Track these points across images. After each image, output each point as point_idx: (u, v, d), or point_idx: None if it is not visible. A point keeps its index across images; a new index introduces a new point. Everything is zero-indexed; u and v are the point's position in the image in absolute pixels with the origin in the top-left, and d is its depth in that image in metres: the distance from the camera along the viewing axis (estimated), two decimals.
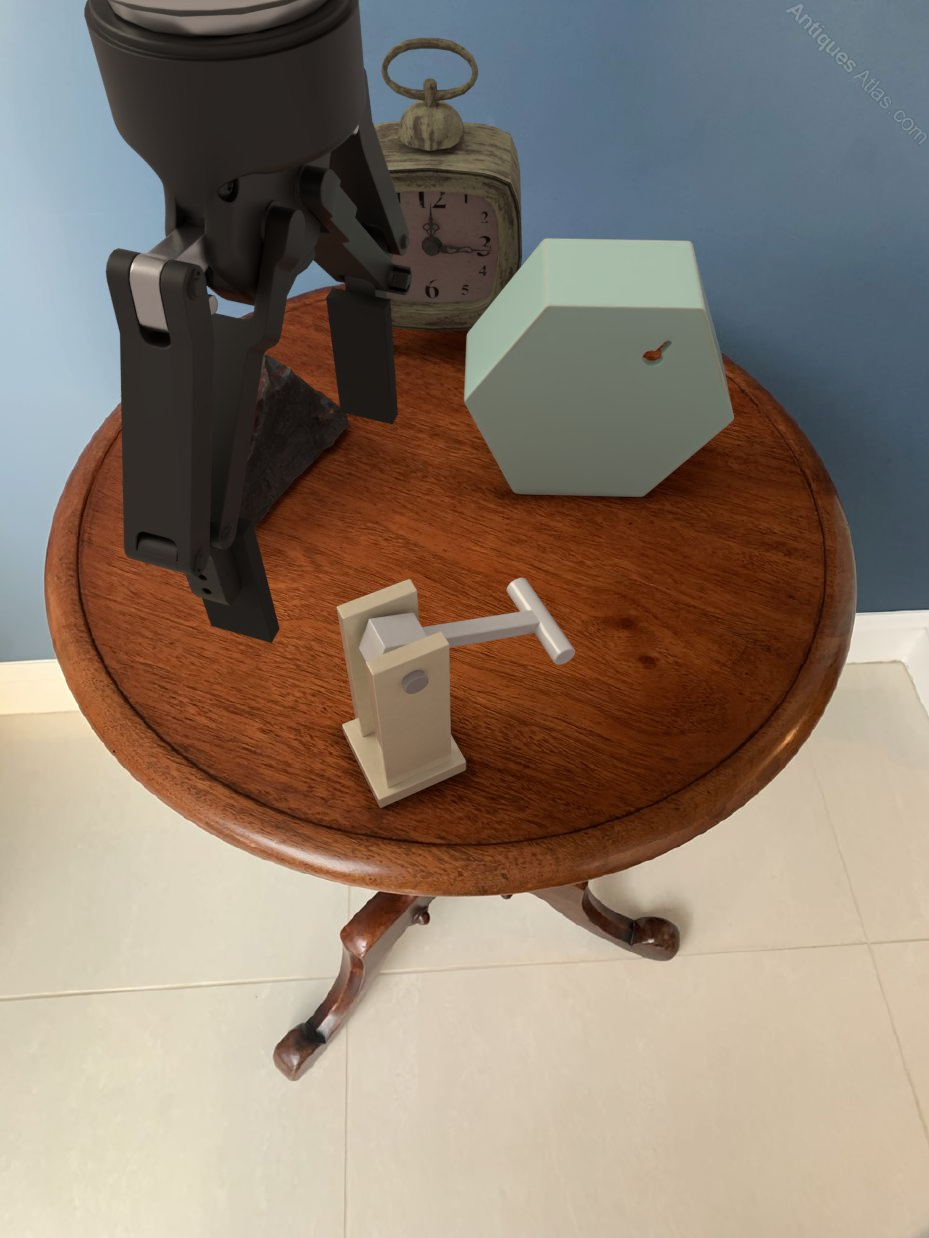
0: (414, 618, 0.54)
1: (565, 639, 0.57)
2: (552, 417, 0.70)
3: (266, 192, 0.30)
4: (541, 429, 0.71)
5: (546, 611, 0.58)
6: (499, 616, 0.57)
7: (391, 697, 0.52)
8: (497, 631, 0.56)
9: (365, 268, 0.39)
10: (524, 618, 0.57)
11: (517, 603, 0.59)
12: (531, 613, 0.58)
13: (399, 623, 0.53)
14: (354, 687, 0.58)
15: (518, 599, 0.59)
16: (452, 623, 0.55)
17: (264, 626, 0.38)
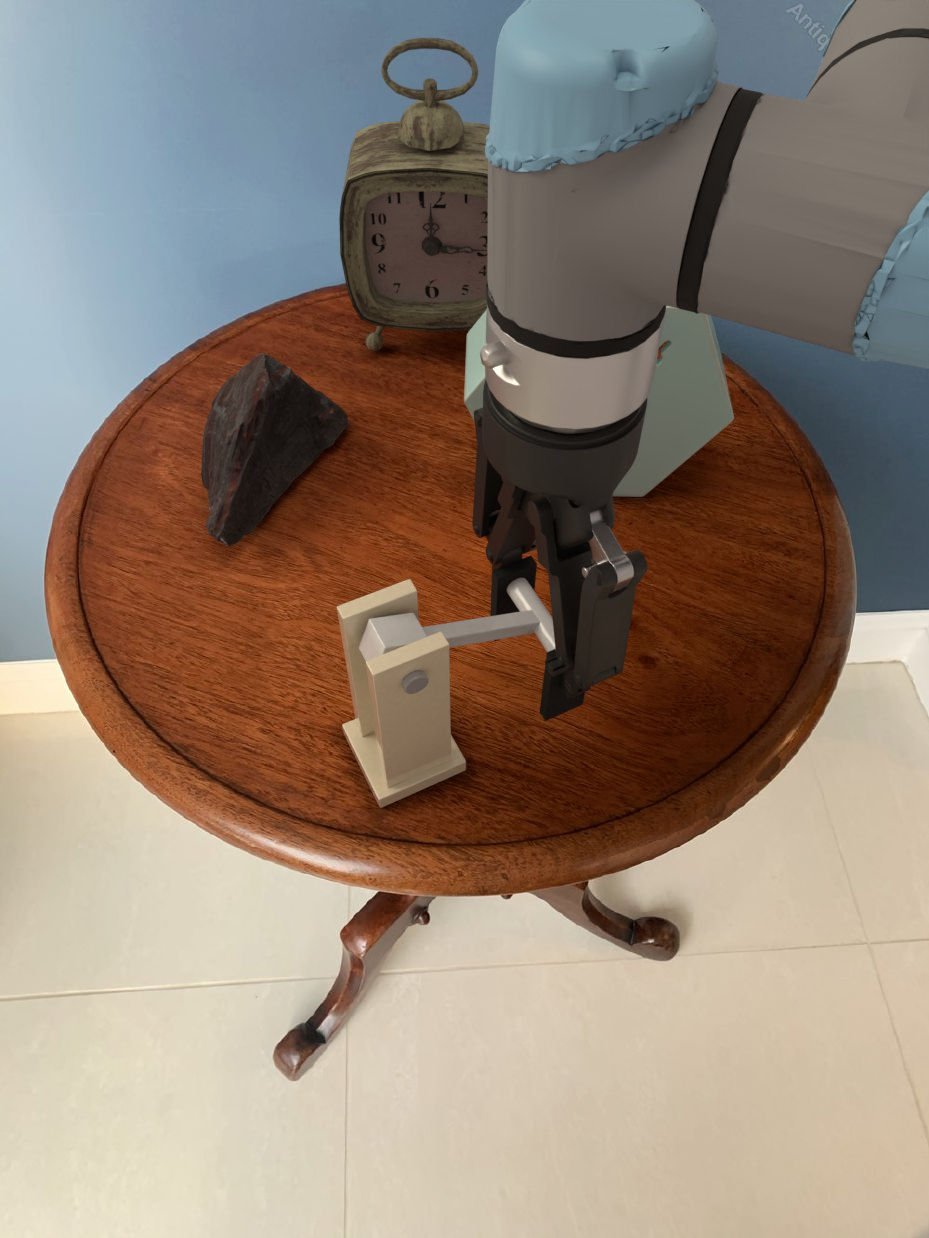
0: (414, 618, 0.54)
1: None
2: None
3: None
4: None
5: (546, 611, 0.58)
6: (499, 616, 0.57)
7: (391, 697, 0.52)
8: (497, 631, 0.56)
9: None
10: (524, 618, 0.57)
11: (517, 603, 0.59)
12: (531, 613, 0.58)
13: (399, 623, 0.53)
14: (354, 687, 0.58)
15: (518, 599, 0.59)
16: (452, 623, 0.55)
17: (583, 696, 0.60)
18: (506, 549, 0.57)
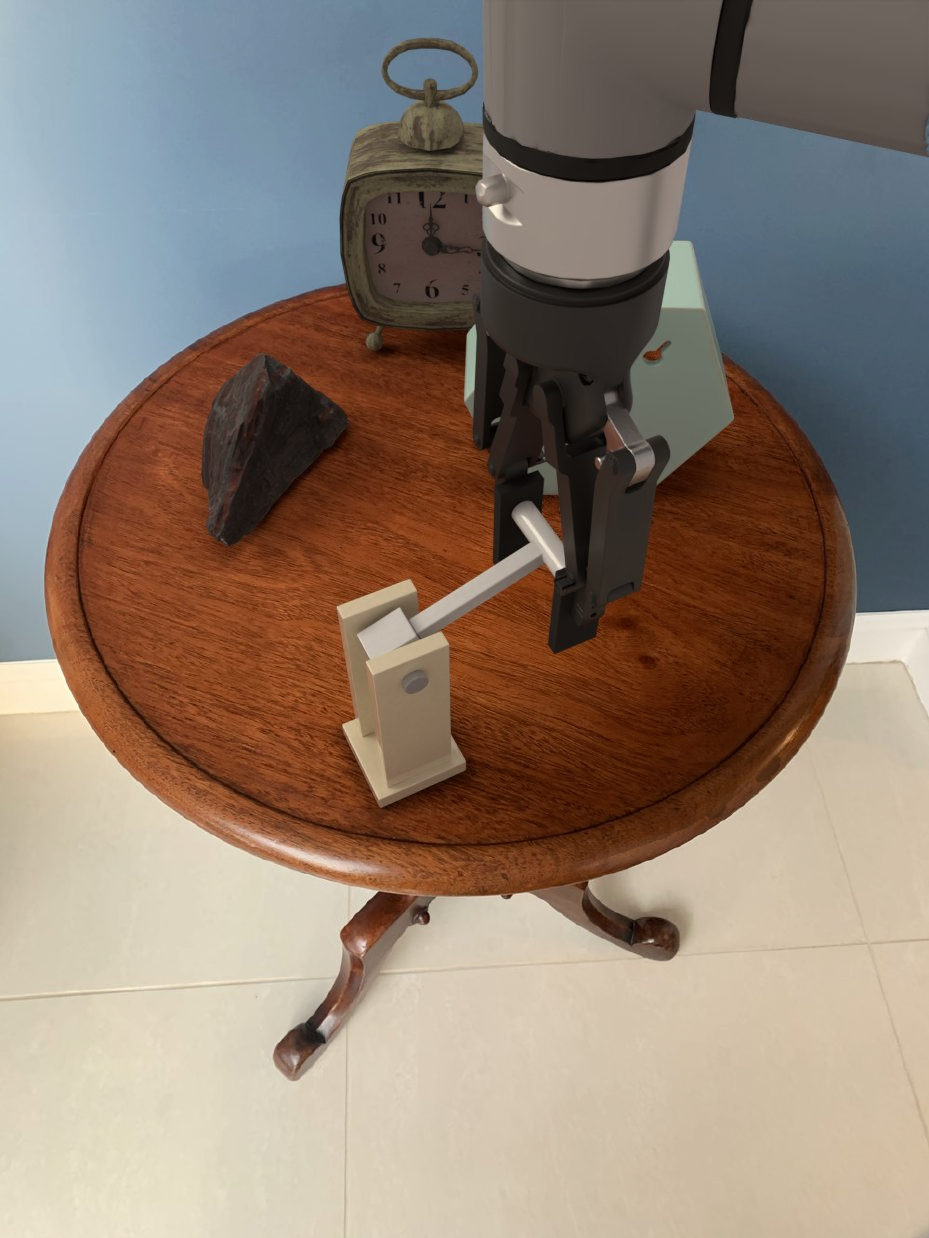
0: (400, 614, 0.53)
1: None
2: None
3: None
4: None
5: (548, 536, 0.53)
6: (497, 565, 0.53)
7: (391, 697, 0.52)
8: (496, 585, 0.53)
9: None
10: (524, 556, 0.53)
11: None
12: (532, 545, 0.53)
13: (385, 627, 0.53)
14: (354, 687, 0.58)
15: (522, 530, 0.54)
16: (447, 596, 0.53)
17: (596, 626, 0.54)
18: (510, 459, 0.51)
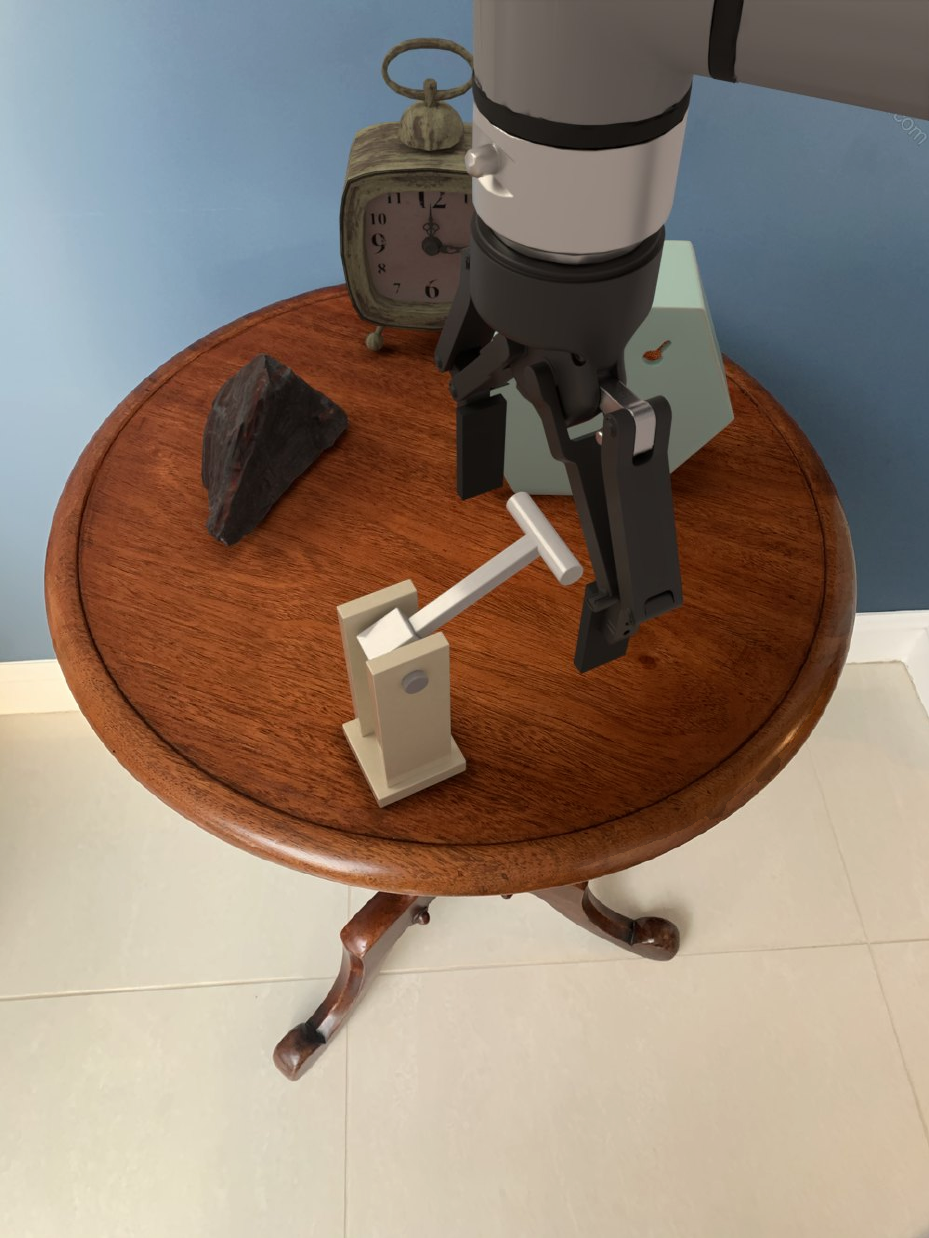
0: (397, 615, 0.53)
1: (563, 558, 0.51)
2: None
3: None
4: (541, 429, 0.71)
5: (542, 528, 0.52)
6: (492, 559, 0.52)
7: (391, 697, 0.52)
8: (492, 580, 0.52)
9: None
10: (519, 549, 0.52)
11: (519, 526, 0.53)
12: (527, 538, 0.52)
13: (384, 629, 0.53)
14: (354, 687, 0.58)
15: (517, 522, 0.53)
16: (443, 594, 0.53)
17: (626, 643, 0.50)
18: (475, 392, 0.51)
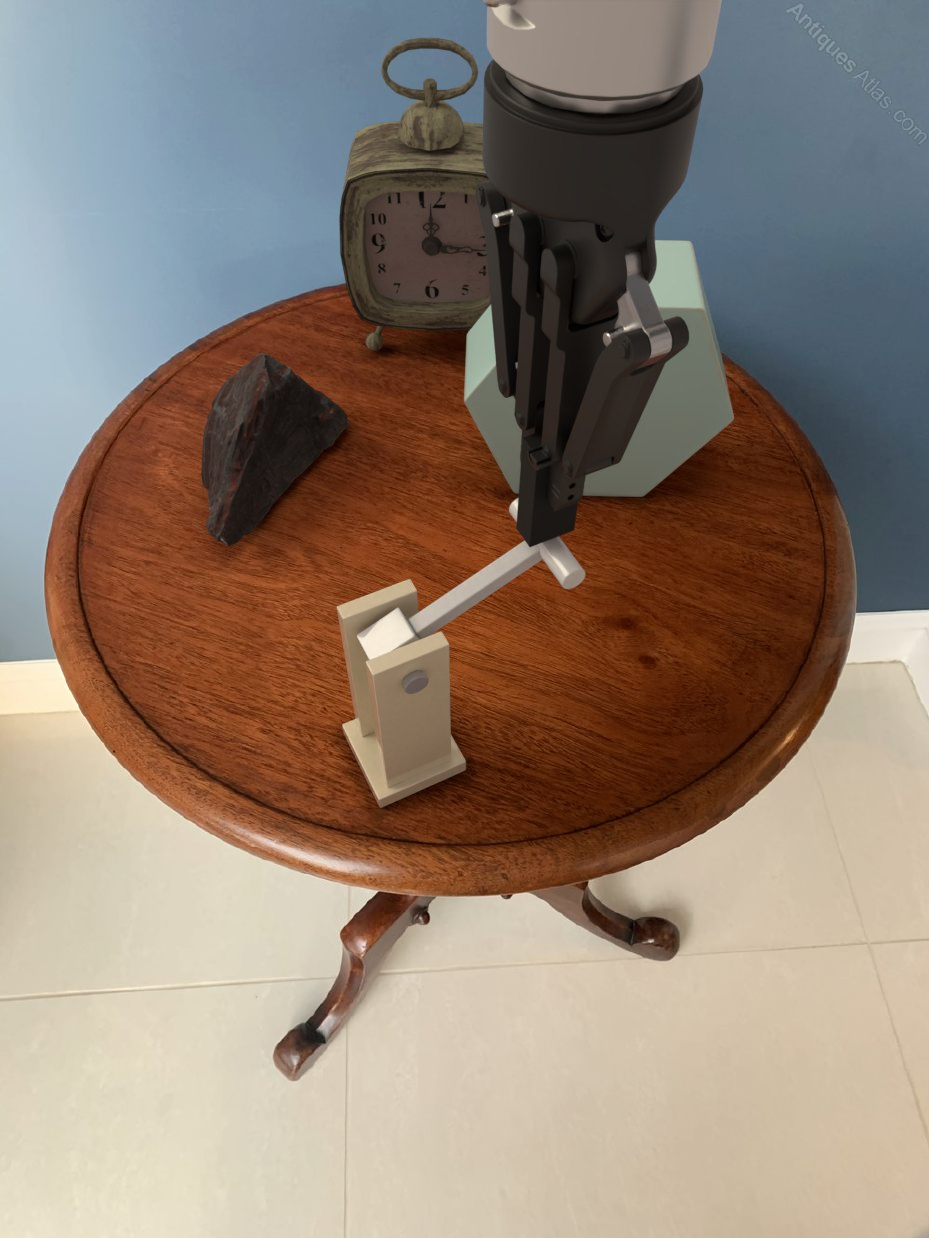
0: (398, 614, 0.53)
1: (566, 562, 0.51)
2: None
3: None
4: None
5: None
6: (495, 562, 0.53)
7: (391, 697, 0.52)
8: (494, 582, 0.52)
9: None
10: (522, 552, 0.52)
11: None
12: None
13: (384, 628, 0.53)
14: (354, 687, 0.58)
15: None
16: (445, 595, 0.53)
17: (574, 517, 0.51)
18: (537, 394, 0.45)
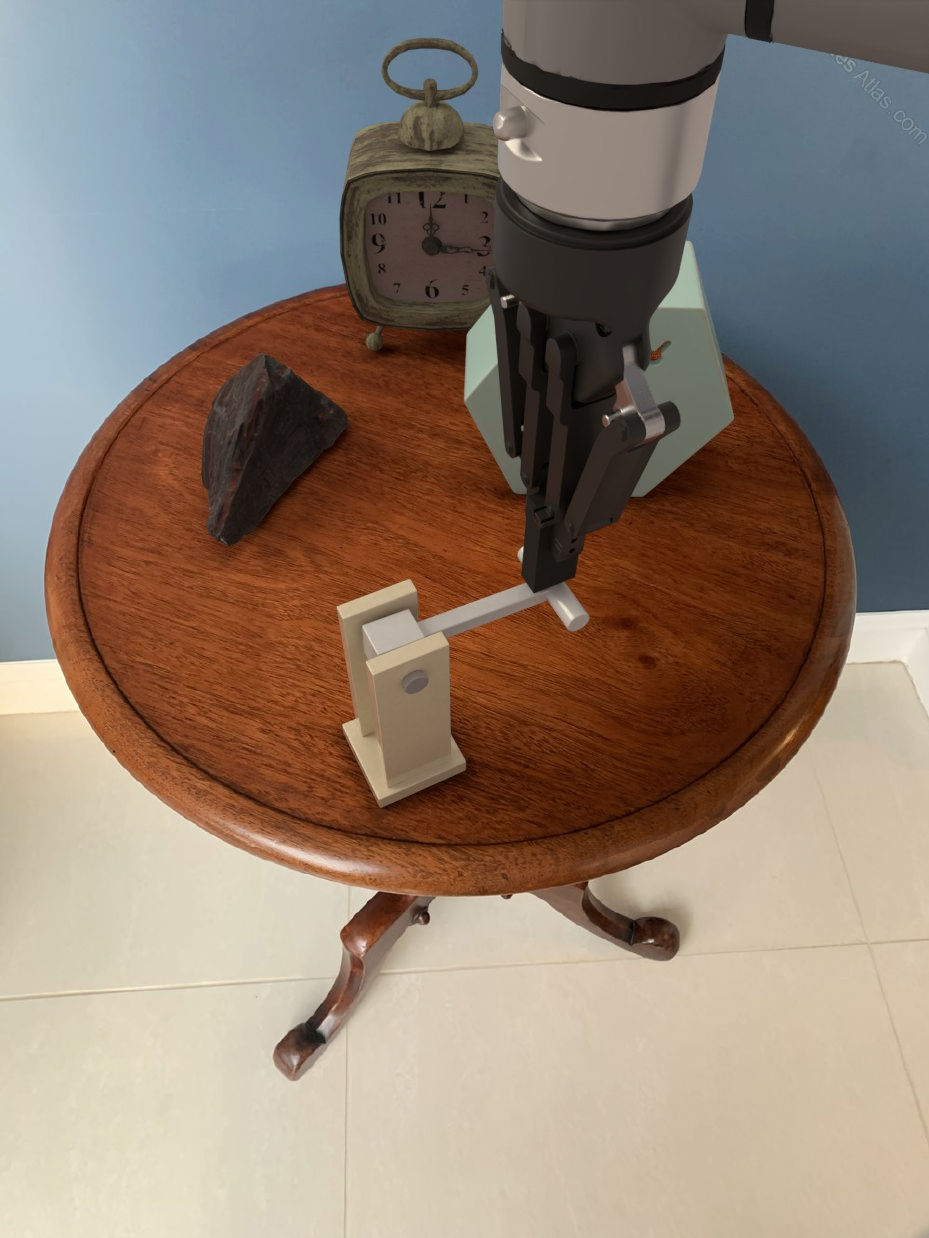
0: (409, 615, 0.53)
1: (576, 605, 0.55)
2: None
3: None
4: None
5: None
6: (505, 591, 0.55)
7: (391, 697, 0.52)
8: (503, 609, 0.55)
9: None
10: None
11: None
12: None
13: (393, 624, 0.53)
14: (354, 687, 0.58)
15: None
16: (453, 610, 0.54)
17: (575, 565, 0.55)
18: (541, 457, 0.49)
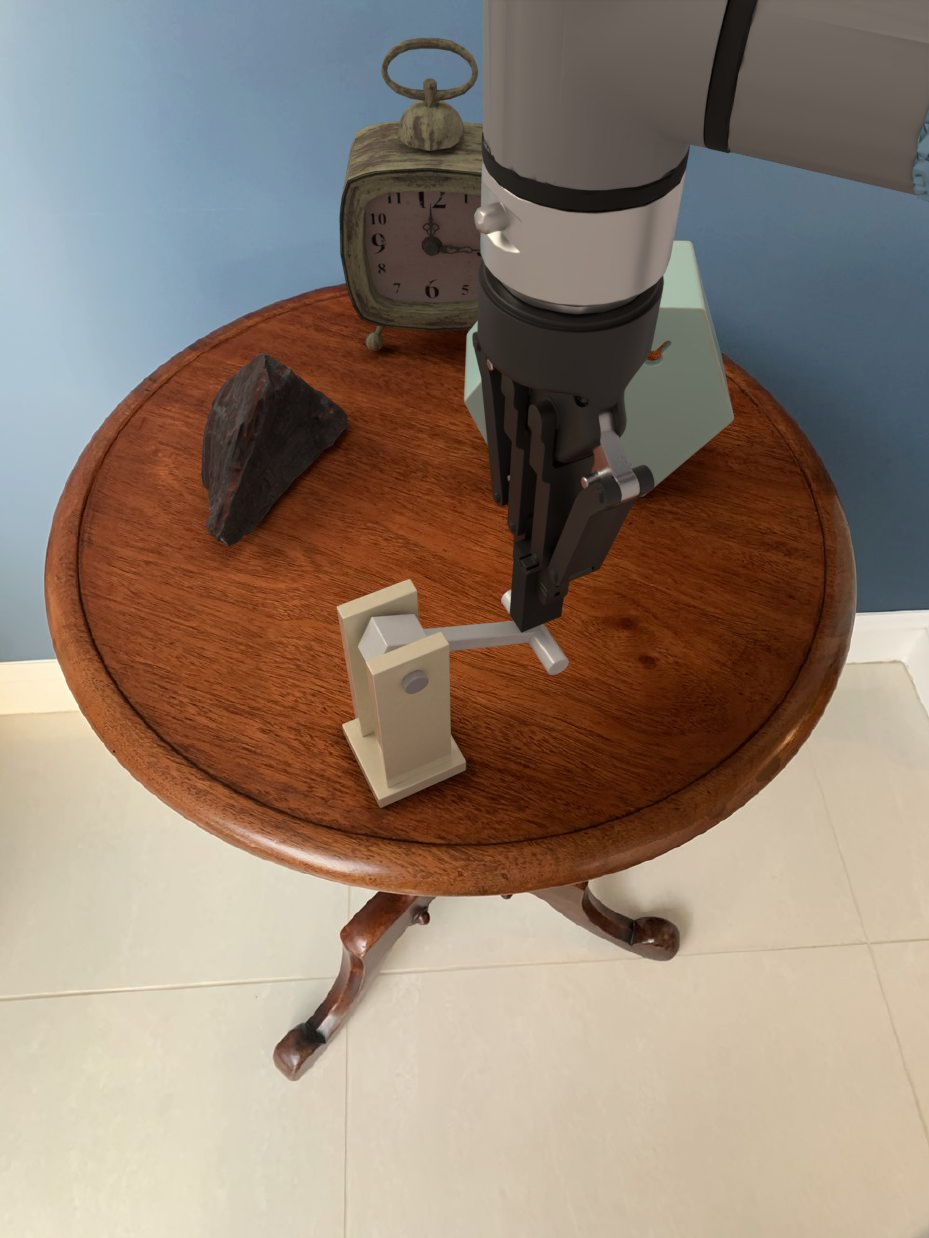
0: (415, 619, 0.54)
1: (559, 649, 0.58)
2: None
3: None
4: None
5: None
6: (496, 623, 0.57)
7: (391, 697, 0.52)
8: (494, 638, 0.57)
9: None
10: None
11: None
12: None
13: (401, 623, 0.53)
14: (354, 687, 0.58)
15: None
16: (451, 627, 0.56)
17: (561, 606, 0.57)
18: (527, 508, 0.51)
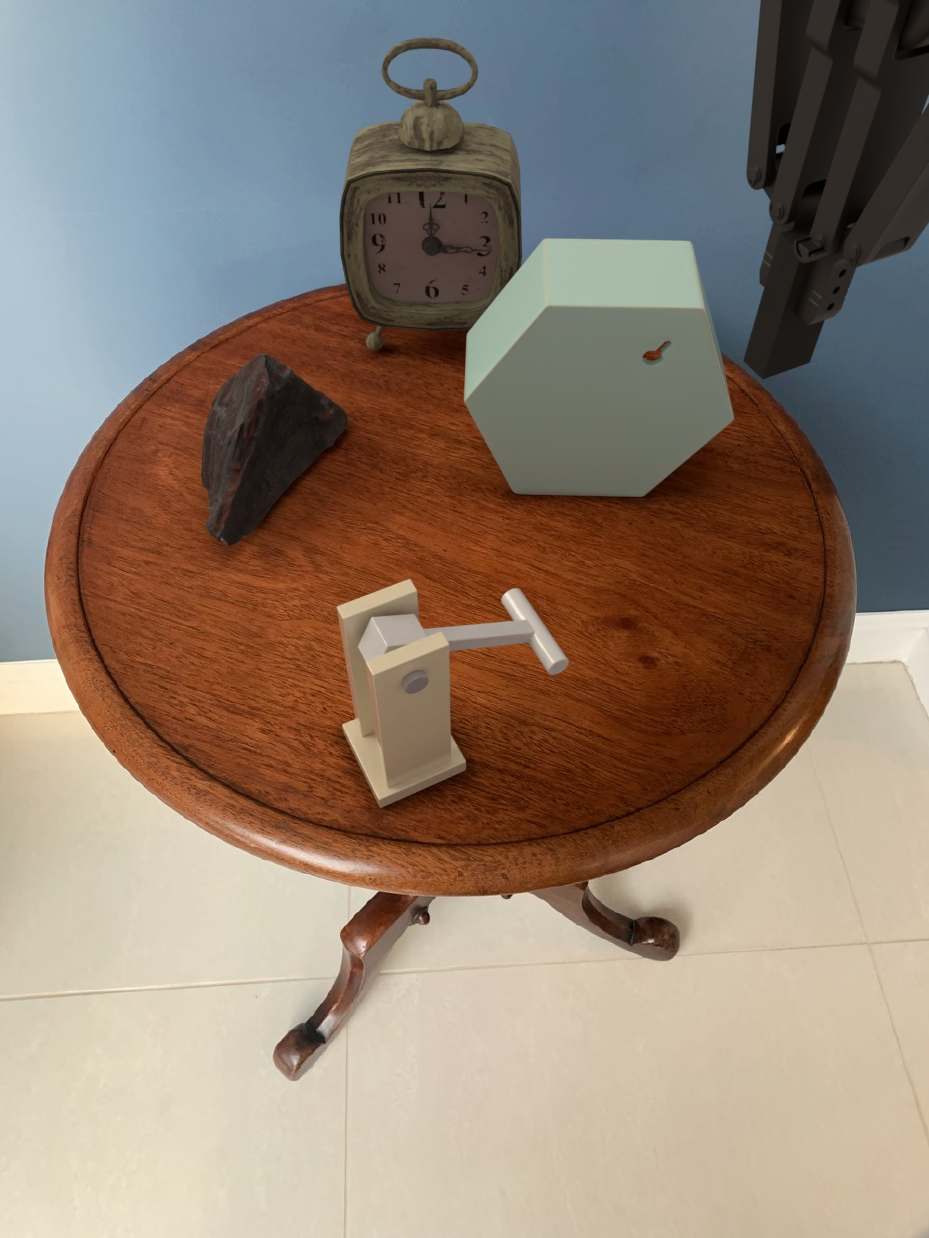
0: (415, 619, 0.54)
1: (559, 649, 0.58)
2: (552, 417, 0.70)
3: None
4: (541, 429, 0.71)
5: (541, 622, 0.59)
6: (496, 623, 0.57)
7: (391, 697, 0.52)
8: (494, 638, 0.57)
9: None
10: (519, 627, 0.58)
11: (511, 613, 0.60)
12: (526, 623, 0.59)
13: (401, 623, 0.53)
14: (354, 687, 0.58)
15: (513, 609, 0.60)
16: (451, 627, 0.56)
17: (814, 344, 0.45)
18: (809, 172, 0.38)
